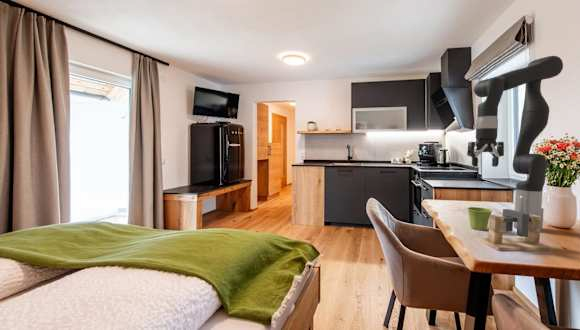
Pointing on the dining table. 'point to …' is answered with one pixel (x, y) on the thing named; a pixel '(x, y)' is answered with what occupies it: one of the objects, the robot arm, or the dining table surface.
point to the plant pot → (479, 217)
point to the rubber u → (521, 222)
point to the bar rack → (514, 243)
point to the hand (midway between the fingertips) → (484, 166)
